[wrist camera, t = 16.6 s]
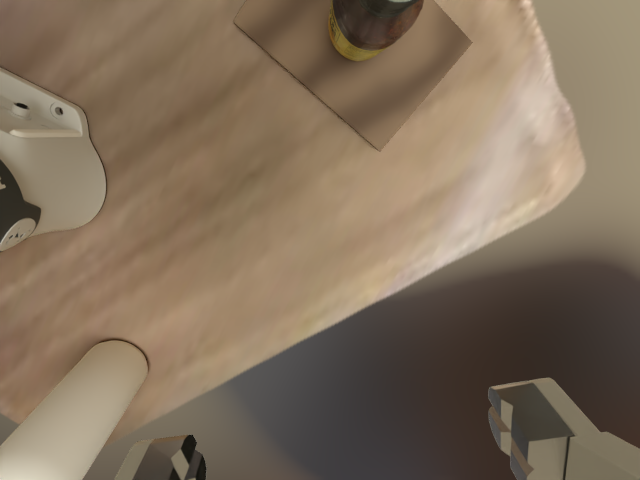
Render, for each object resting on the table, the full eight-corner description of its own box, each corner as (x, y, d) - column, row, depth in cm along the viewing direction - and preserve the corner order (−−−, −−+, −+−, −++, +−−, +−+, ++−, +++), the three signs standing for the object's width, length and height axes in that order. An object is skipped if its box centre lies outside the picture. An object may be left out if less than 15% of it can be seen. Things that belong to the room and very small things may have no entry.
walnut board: (236, 24, 35) (232, 21, 34) (321, -112, 31) (321, -122, 30) (377, 149, 40) (379, 151, 38) (466, 45, 36) (472, 42, 35)
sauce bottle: (344, -22, 32) (384, -194, 14) (400, 11, 33) (507, -109, 15) (316, 48, 35) (318, -20, 16) (369, 77, 36) (429, 44, 17)
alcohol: (102, 387, 52) (-141, 708, 24) (80, 341, 49) (-230, 649, 21) (158, 380, 52) (-24, 698, 24) (139, 333, 49) (-96, 637, 21)
